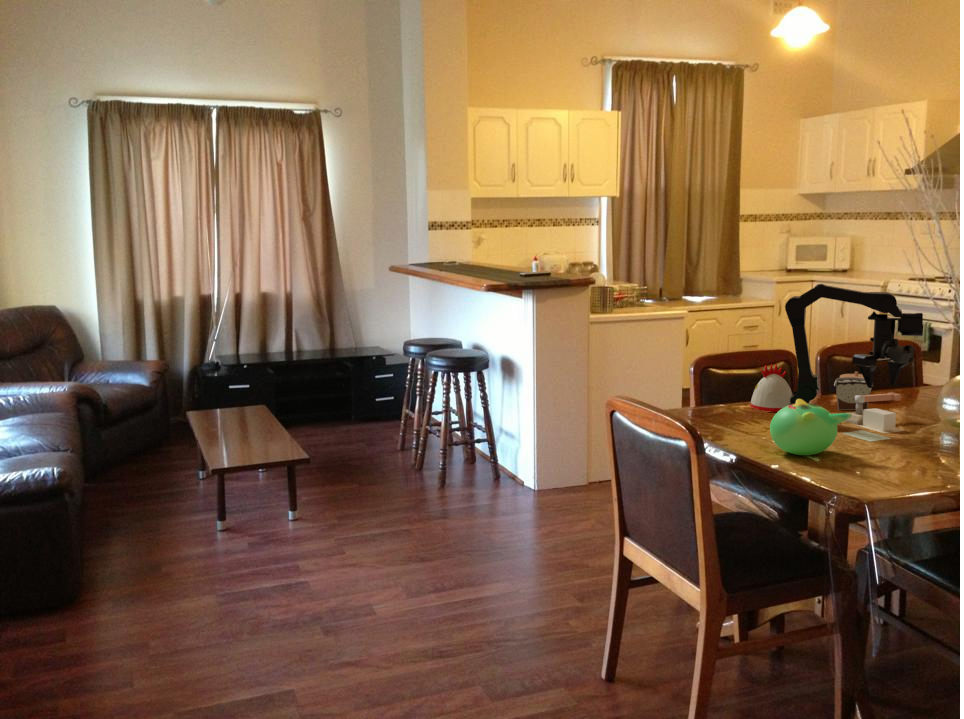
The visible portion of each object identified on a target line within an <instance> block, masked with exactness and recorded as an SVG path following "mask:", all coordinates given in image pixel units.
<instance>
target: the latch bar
mask: <svg viewBox="0 0 964 719" xmlns="http://www.w3.org/2000/svg"><path fill="white" fill-rule="evenodd" d="M900 400H901V394H899V393H896V392H887V393H879V394H877V393H876V394H870V395H856V396H855V402H857V403H864V402H868V403H869V402H873V403H874V402H884V401H885V402H886V401H900Z"/></svg>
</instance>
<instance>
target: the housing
mask: <svg viewBox="0 0 964 719" xmlns="http://www.w3.org/2000/svg"><path fill="white" fill-rule="evenodd" d="M863 412H864V410H863V403H857V402H856V410H855V411H854V412H853V411H852V412H851V411H850V413H851V414H852V416H851V417H850V418H849V419H847V420H845V421H844V422H846V423H849V424H851V425H852V424H853V425H856V426H857V427H860V428H862V429H863V428H864V429H867V430H871V431H875V432H878V433H881V434H890V433H897V432H898V433H899V432H903V431H905V429H901V428H897V427H895V430H888V431H881V430H877V429H874V428H870V427H866V426H863Z"/></svg>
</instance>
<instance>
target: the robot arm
mask: <svg viewBox="0 0 964 719" xmlns="http://www.w3.org/2000/svg"><path fill="white" fill-rule="evenodd" d="M821 298H824V299H829V300H834V301H840V302H846V303H850V304H857V305H860V306H861V305H862V306H864V307H867V308H869V309H871V310H874V311H872V313H871V314H870V315H868V316H867V320H869V321H874V323H873V337H870V339H869V341H870V342H872V350H870V351H869V353H868V354H867V353H857V354H856V353H855V354H854V355H852V358H851V364H852V365H855V367H857V368H858V370H859V371H860V374H862V375H863V377H864V380H865V382H866V384H867V386H868V388H871V389H872V387H873V386H872V383H873V382H874V381H873V380H874V374H875V373H874V372H875V370H876V369H877V368H878V366H877V363H879V362H886V363H887V369H888V370H887V371H888V378H889V383H890V385H891V386H895V384H896V382H897V381H898V378H899V376H900V373H901V371H902V369H904V367H906V366H908V365H910V363H913V362H914V354H915V347H914V346H913V345H912V344H906V345H900V344H899V340H898V338H895V336H896V333H900V334H901V336H906V337H907V336H909V337H923V335H924V322H923V321H924V319H923V318H924V314H923V312H916V313H914V312H913V313H912V312H911V313H909V312H908V313H907V312H902V309H900V308H899V307H898V305H897V304H898V302H897V298H896V297H895V295H894V294H893V293H892V292H888V291H868V292H867V291H860V290H856V289H855V290H854V289H849V288H843V287H839V286H831V285H828V284H824V283H818V284H816V285H815V286H814V287H813V288H811V289H809V290H807V291H806V292H804V293H803V294H801V295H794V296H791V297H790V298H789V299H788V300H787V301H786V302H785V305H784V308H785V309H784V310H785V312H786V315H787V319H788V321H789V324H790V327H791V330H792V337H793V344H794V348H795V349H794V350H795V357H796V362H797V363H796V364H797V371H798V373H797V388H796V390H794V392H792V395H791V398H790V403H789V405H792V404H795V403H796V400H797V399H802V400H804V401H805V402H806V403H809V404H812V403H811V401H813V400H814V399H816V397H817V395H818V391H820V387H821V385H820V383H819V374H818V373H817V374H814V372H813V370H812V367H811V358H810V352H809V350H810V349H809V345H808V344H809V343H808V338H807V331H806V317H807V316H806V314H807V308H808V307H809V306H810V305H813V304H814V303H815V302H817V301H818V300H820V299H821ZM876 311H877V312H880V313H877V312H876ZM888 314H889V315H892V316H893V317H891V316H890V317H889V316H888ZM896 321H897V328H896ZM896 329H897V332H896ZM875 365H876V366H875ZM873 384H874V383H873Z"/></svg>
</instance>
